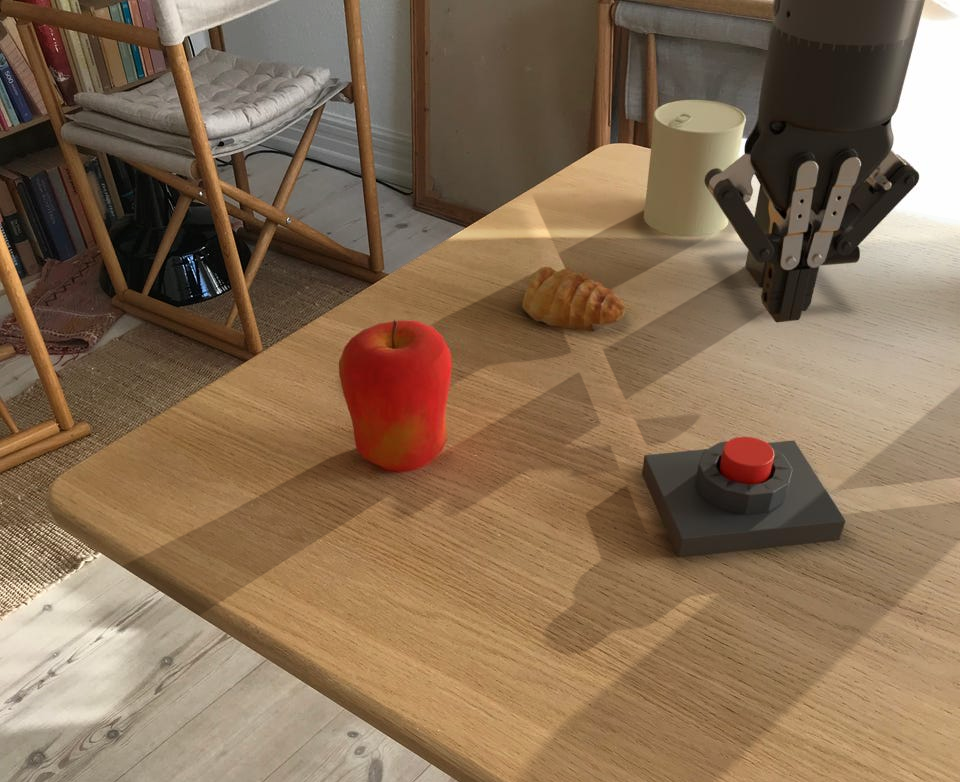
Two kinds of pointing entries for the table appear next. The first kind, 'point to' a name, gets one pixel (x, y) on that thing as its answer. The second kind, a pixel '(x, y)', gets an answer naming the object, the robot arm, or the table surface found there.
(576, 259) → the table surface
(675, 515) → the button box
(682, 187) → the can
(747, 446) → the button
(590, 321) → the pastry
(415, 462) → the apple
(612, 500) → the table surface
